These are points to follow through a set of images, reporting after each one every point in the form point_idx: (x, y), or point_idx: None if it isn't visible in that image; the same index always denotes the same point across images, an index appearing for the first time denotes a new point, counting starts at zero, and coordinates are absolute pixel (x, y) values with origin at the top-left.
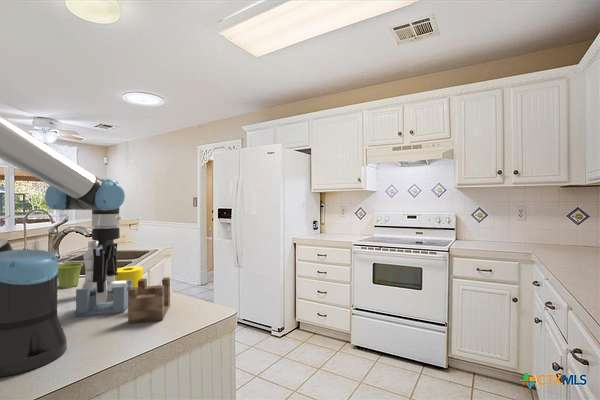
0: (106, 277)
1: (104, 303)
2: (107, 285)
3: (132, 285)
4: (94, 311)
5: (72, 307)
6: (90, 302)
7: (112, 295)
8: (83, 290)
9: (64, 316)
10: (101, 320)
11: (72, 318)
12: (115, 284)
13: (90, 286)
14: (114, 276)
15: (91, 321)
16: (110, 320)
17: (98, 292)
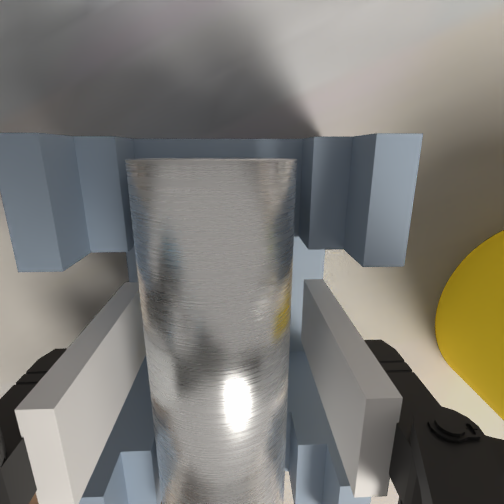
0: (359, 405)
1: (294, 257)
2: (157, 428)
3: (500, 411)
4: (128, 256)
5: (343, 15)
6: None
7: (302, 331)
8: (15, 225)
9: (136, 53)
10: (34, 323)
11: (87, 135)
12: (164, 495)
13: (137, 263)
14: (366, 488)
15: (22, 276)
16: (31, 366)
17: (52, 359)
